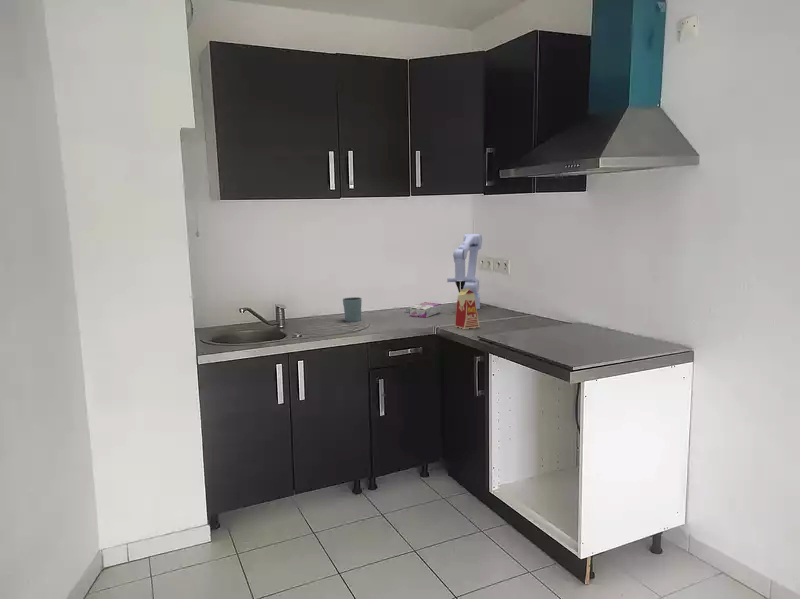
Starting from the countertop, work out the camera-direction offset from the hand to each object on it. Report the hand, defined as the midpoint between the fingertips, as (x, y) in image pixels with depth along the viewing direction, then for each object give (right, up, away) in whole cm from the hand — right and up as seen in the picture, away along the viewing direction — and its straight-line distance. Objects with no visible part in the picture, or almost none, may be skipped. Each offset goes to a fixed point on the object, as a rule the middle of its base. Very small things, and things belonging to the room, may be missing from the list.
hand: (460, 294), depth 328 cm
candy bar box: (-15, -7, +5) cm, 17 cm away
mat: (-23, -10, +10) cm, 27 cm away
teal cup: (-59, -14, -13) cm, 62 cm away
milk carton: (-1, -17, -39) cm, 42 cm away
